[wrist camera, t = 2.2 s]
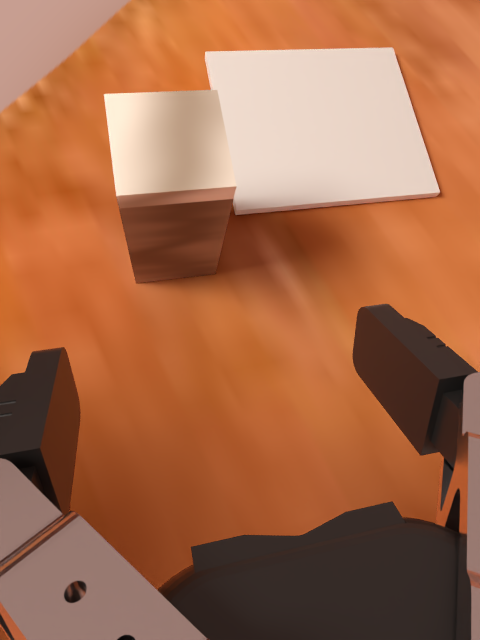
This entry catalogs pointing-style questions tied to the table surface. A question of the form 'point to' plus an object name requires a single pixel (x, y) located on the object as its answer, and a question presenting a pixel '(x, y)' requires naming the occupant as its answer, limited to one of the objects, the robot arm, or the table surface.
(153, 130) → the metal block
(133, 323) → the table surface
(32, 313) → the table surface
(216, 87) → the white mat
